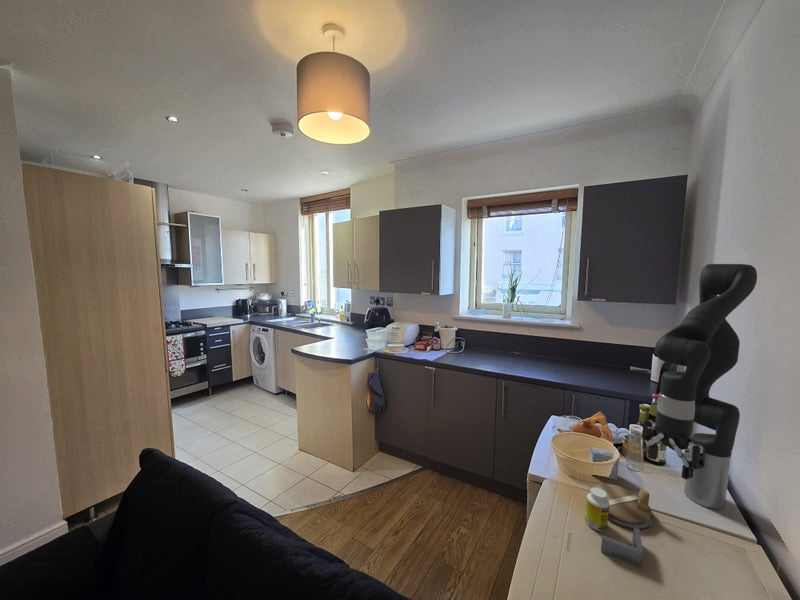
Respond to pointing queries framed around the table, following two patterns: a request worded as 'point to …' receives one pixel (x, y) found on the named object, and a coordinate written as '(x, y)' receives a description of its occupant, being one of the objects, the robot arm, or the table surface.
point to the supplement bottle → (597, 509)
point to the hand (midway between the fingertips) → (668, 467)
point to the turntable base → (631, 526)
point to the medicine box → (604, 459)
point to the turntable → (627, 504)
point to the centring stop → (624, 549)
